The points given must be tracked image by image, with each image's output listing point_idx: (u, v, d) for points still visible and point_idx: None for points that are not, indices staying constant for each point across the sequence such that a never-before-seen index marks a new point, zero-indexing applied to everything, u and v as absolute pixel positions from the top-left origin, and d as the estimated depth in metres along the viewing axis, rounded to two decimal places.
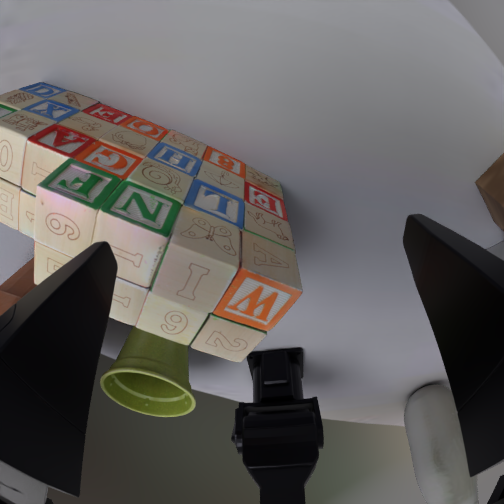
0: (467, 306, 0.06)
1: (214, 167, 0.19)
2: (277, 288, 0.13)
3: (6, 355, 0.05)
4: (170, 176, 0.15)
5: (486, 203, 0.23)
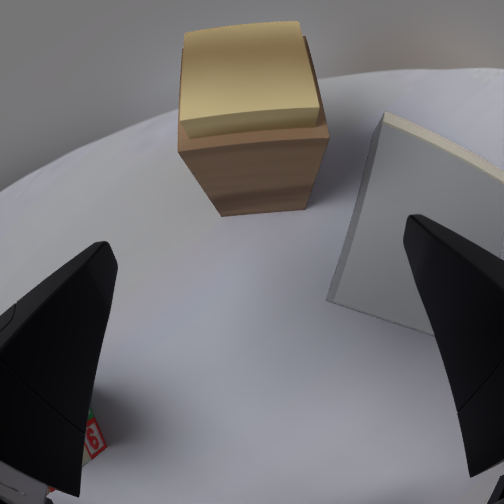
0: (467, 306, 0.06)
1: None
2: None
3: (5, 355, 0.05)
4: None
5: (261, 212, 0.22)
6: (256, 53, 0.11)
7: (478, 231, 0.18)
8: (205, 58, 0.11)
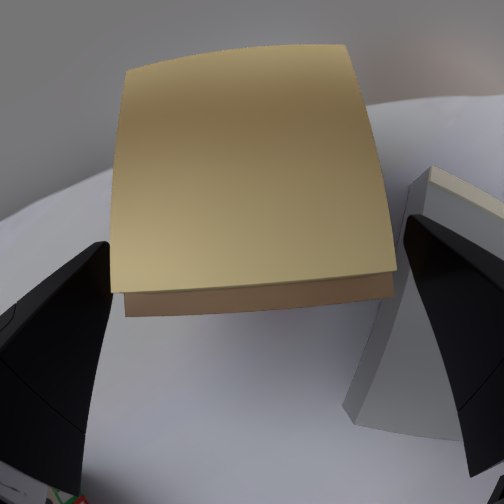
0: (467, 306, 0.06)
1: None
2: None
3: (5, 355, 0.05)
4: None
5: None
6: (264, 120, 0.05)
7: None
8: (158, 132, 0.06)
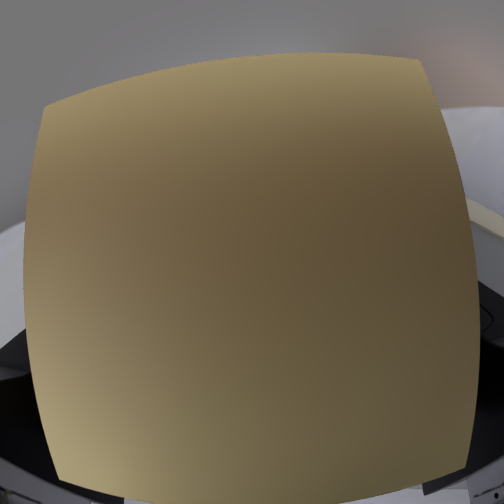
0: None
1: None
2: None
3: None
4: None
5: None
6: (283, 227, 0.03)
7: None
8: (83, 240, 0.03)
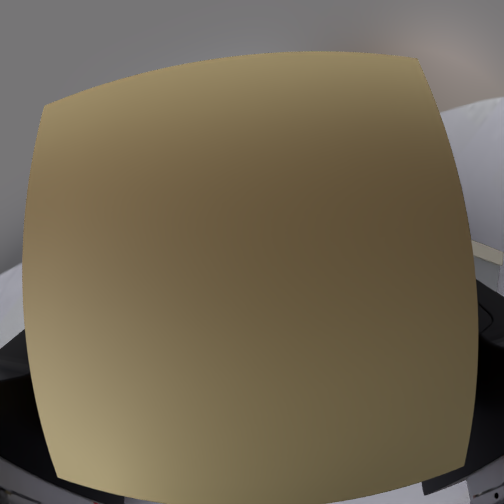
0: None
1: None
2: None
3: None
4: None
5: None
6: (280, 225, 0.03)
7: None
8: (81, 238, 0.03)
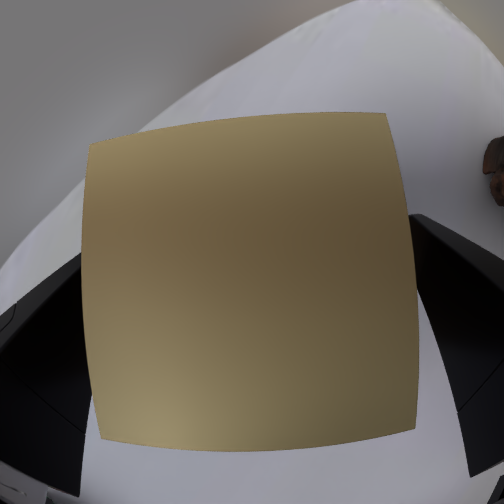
0: (467, 306, 0.06)
1: None
2: None
3: (6, 355, 0.05)
4: None
5: None
6: (274, 248, 0.04)
7: None
8: (133, 254, 0.04)
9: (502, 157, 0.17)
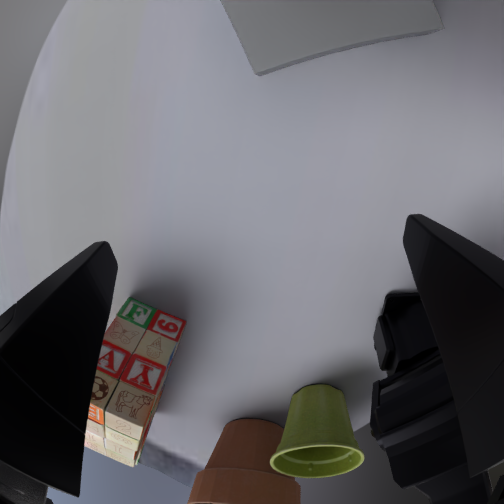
0: (467, 306, 0.06)
1: None
2: None
3: (5, 355, 0.05)
4: None
5: None
6: None
7: None
8: None
9: None
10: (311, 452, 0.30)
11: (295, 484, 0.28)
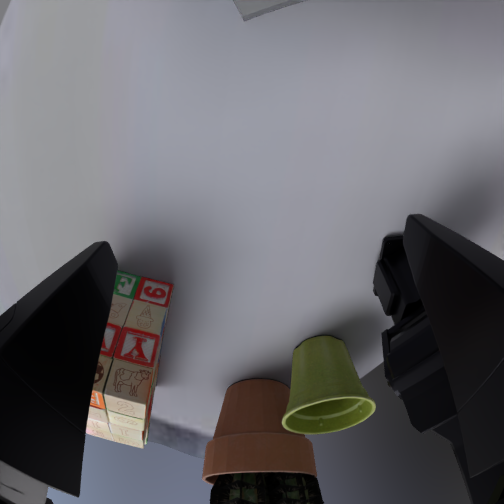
0: (467, 306, 0.06)
1: None
2: None
3: (5, 355, 0.05)
4: None
5: None
6: None
7: None
8: None
9: None
10: (319, 407, 0.32)
11: (307, 441, 0.31)
